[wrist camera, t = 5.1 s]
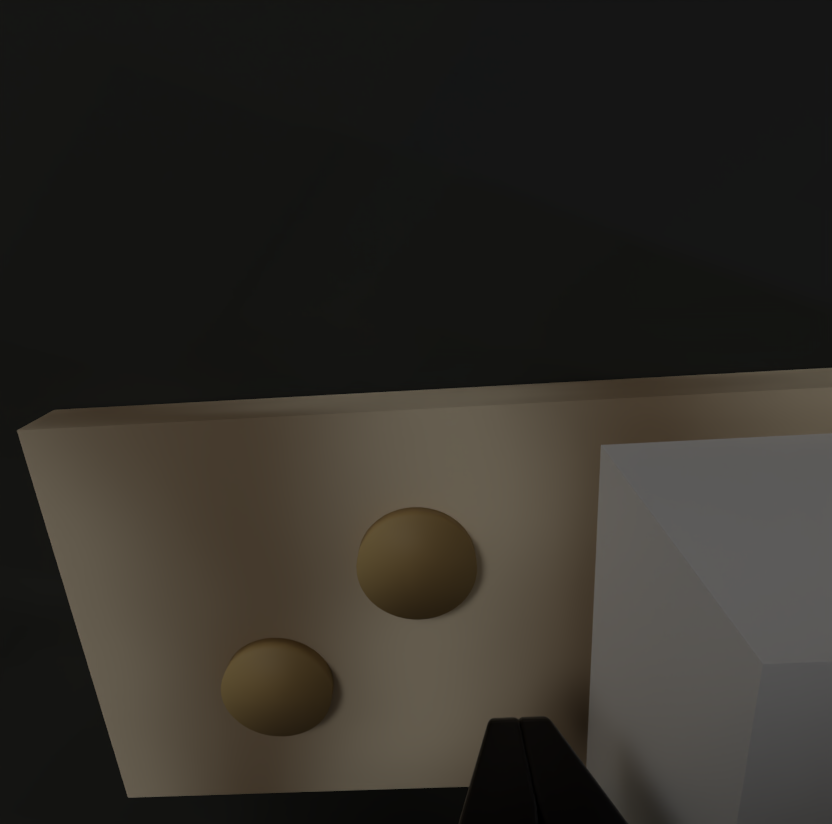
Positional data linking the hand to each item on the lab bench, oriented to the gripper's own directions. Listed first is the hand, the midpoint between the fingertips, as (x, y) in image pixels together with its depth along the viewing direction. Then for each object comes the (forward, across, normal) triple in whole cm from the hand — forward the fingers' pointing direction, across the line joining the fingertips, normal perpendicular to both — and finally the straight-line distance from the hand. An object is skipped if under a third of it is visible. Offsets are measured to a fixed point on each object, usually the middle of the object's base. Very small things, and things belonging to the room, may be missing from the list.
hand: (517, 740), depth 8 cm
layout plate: (+4, -2, 0) cm, 4 cm away
